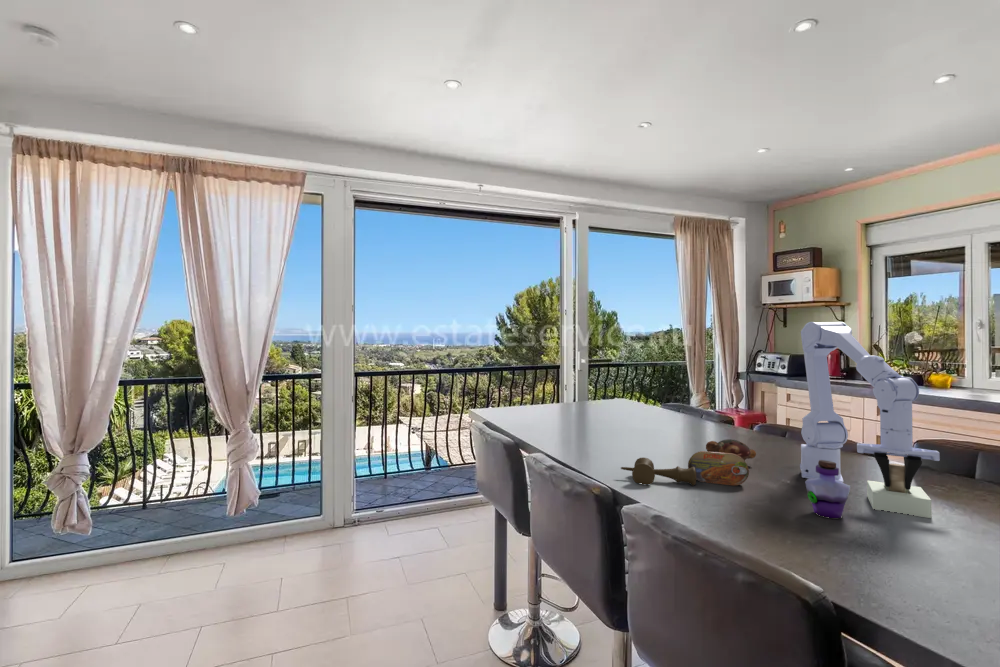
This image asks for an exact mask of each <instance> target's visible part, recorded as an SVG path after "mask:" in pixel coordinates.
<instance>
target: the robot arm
mask: <svg viewBox="0 0 1000 667" xmlns="http://www.w3.org/2000/svg"><path fill="white" fill-rule="evenodd" d="M800 338H801V346H802V351H803V357H804V366H805V373H806V374H805V375H806V381H807V382H806V383H807V390H808V397H809V405H810V406H809V408H810V412H808V413H807V414H805V416H803V417H802V426H801V436H802V439H803V441H804V442H805V443H806V444H804V443H801V444H800V459H801V460H800V463H799V470H800V471H801V478H803V479H804V478H805V479H811V478H820V473H817V472H816V465H819V464H818V462H819V460H826V461H831V462H835V463H836V467H837V468H839V475H838V476H835V480H836V481H840V482H842V483H844V478H843V476H842V473H841V471H842V470H841V448H843V446H844V444H846V443H847V441H848V438H849V433H848V432H849V431H848V430H847V428H846V426H845V422H844V418H843V417H842V416H841V415H840V414H838V413H836V411H835V409H834V402H833V394H832V388H831V387H832V386H831V380H830V379H831V378H830V372H829V365H828V363H829V362H828V355H829V354H830V353H831V352H833V351H835V350H836V349H837V348H838V349H839V350H840V351H842V352H843V354H845V355H846V356H847V357H849V358H850V359H851V360H852V361H853V362H855V364H856V366H855V369H856V371H857V372H858V373H859V374H860V375H861V376H862V377H863V378H864V379H865V380H866V381H867V383H869V384H870V386H871V387H873V388H872V393H873V395H874V397H875V399H876V402H877V407H878V409H879V421H880V423H879V424H880V426H879V428H880V430H879V434H880V444H878V443H877V444H876V443H858V442H857V443H856V451H857V453H858V454H864V453H865V454H872V455H873V457H874V459H875V461H876V462H877V465H878V467H879V469H880V472H881V475H882V478H883V482H884V485H885V486H886V487H890V481H889V464H890V459H889V456H890V457H891V456H893V457H894V456H895V457H902V458H903V465H904V466H905V483H906V489H908V490H910V487H911V486H912V483H913V480H914V478H915V476H916V474H917V472H918V470H919V469H920V468H921V466H922V465H923V460H931V461H936V462H939V461H940V459H941V458H940V457H941V456H940V452H939V451H938V450H936V449H935V450H934V449H933V450H931V449H926V448H917V447H914V446H913V444H914V442H913V439H914V437H913V436H914V435H913V402H915V401H916V400H917V399H918V397H919V395H920V389H919V385H918V384H917V382H916V381H915V380H914V379H913V378H912V377H910V376H903V375H902V374H899V372H897V371H896V370H894V369H893V368H892V367H891V366H890V365H889V364H888V363H887V362H886V361H885V359H884V358H883V356H880V355H879V356H878V355H876V354H875V355H871V354H870V353H869V352H868V351H867V350H866V348H865V347H863V345H862V344H861V343H860V342H859V341H858V340H857V339H856V338H855V336H853V329H852V328H851V327H849V326H848V325H847V323H846V322H843V321H821V322H820V321H819V322H817V321H816V322H815V321H809V322H807V323H805V324H804V325H803V328H801V330H800ZM922 459H923V460H922ZM844 484H845V483H844Z"/></svg>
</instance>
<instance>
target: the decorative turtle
mask: <svg viewBox="0 0 1000 667" xmlns="http://www.w3.org/2000/svg"><path fill="white" fill-rule="evenodd" d="M705 450H706V451H707V452H720V453H732V454H736V455H738V456H740V457H741V458H743V460H744V461H745V462H746V460H747V459H748V460H749V459H750V460H751V459H754V458H755V457H756V455H757V452H756V450H754V449H752V448H750V446H748V445H746V444H745V443H744V442H742V441H739V440H735V439H722V440H720V441H718V442H717V441H714V440H709V441H708V442H707V443H706V444H705Z"/></svg>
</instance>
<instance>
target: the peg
mask: <svg viewBox="0 0 1000 667" xmlns="http://www.w3.org/2000/svg"><path fill="white" fill-rule="evenodd" d="M889 481H890V487H889V491H893V492H900V493H906V483H905V466H904V464H899V463H889Z"/></svg>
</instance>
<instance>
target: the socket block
mask: <svg viewBox="0 0 1000 667" xmlns="http://www.w3.org/2000/svg"><path fill="white" fill-rule="evenodd" d="M866 492H867V494H866V496H867V497H866V498H867V499H868V501H869V503H870V505H871V508H872V510H874V509H875V510H876V511H881V510H884V511H883V512H887V511H890V512H889V513H894V512H897V513H896V514H900V513H903V515H907V514H909V515H908V516H913V515H914V516H915V517H920V518H921V517H922V518H927V519H932V517H933V516H932V514H933V512H932V510H933V509H932V499H931V498H930V496H928V494H927V493H926V491H924V490H923V488H922V487H921V486H913V485H911V487H910V490H908V489H906V493H900V492H893V491H889V487H886V486H885V485H884V481H883V482H882V481H874V480H869V479H868V480H866Z"/></svg>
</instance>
